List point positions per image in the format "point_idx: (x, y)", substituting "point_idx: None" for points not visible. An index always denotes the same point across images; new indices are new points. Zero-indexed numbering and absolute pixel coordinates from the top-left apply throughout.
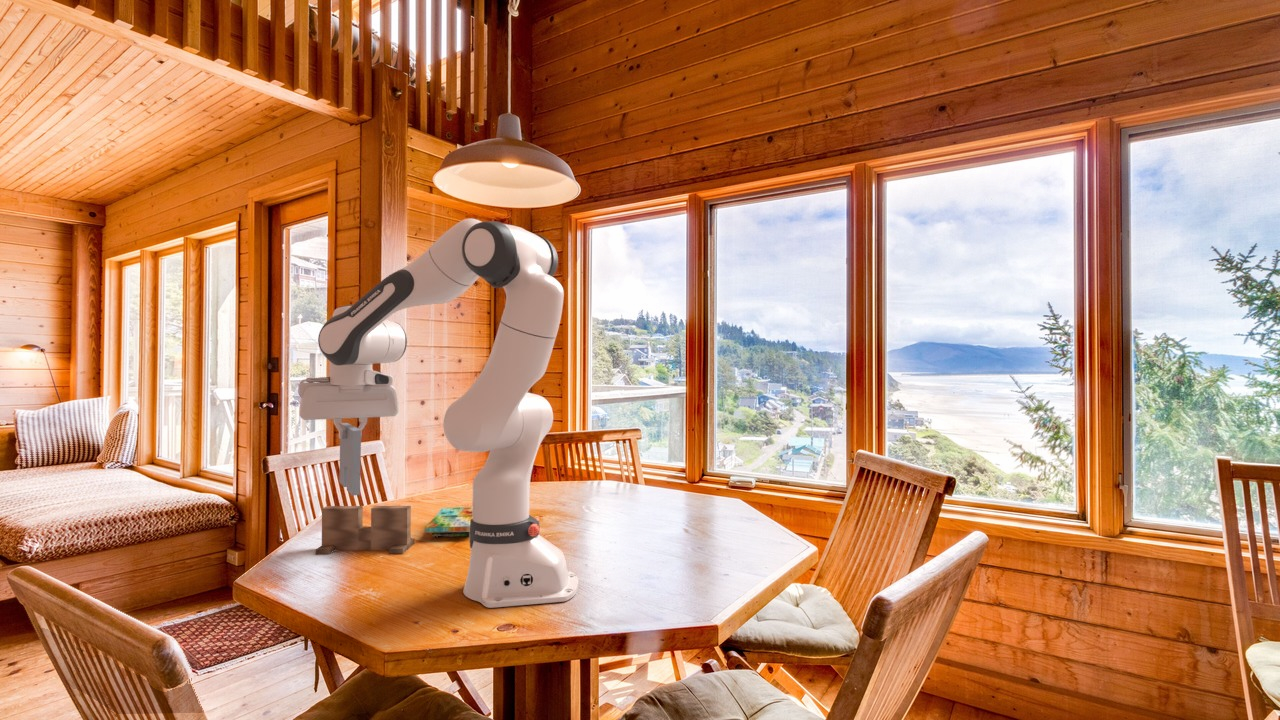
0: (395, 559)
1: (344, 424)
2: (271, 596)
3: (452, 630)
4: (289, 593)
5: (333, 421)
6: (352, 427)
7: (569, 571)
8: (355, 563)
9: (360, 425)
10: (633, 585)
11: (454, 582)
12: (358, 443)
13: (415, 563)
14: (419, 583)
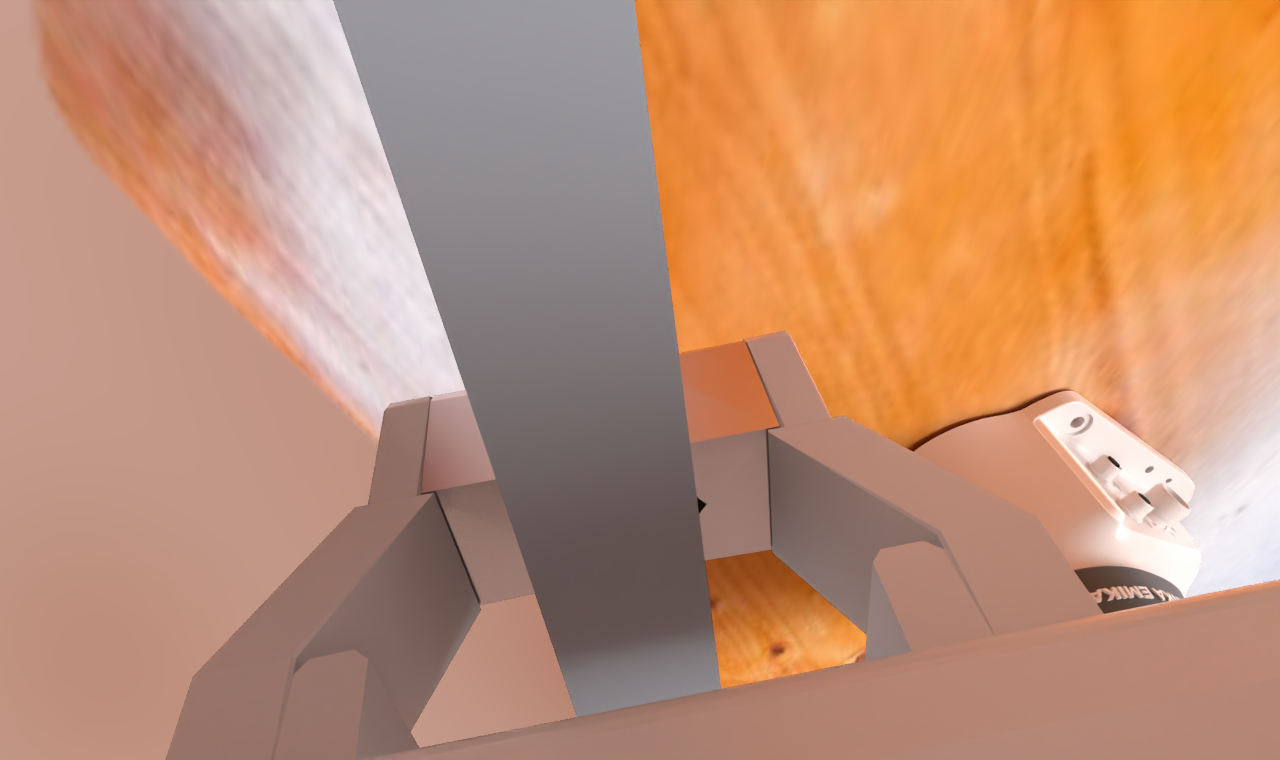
0: (761, 60)
1: (432, 83)
2: (270, 333)
3: (772, 647)
4: (332, 327)
5: (184, 724)
6: (660, 689)
7: (1191, 485)
8: None
9: (848, 560)
10: (1245, 563)
11: (883, 413)
12: None
13: (829, 165)
14: None
